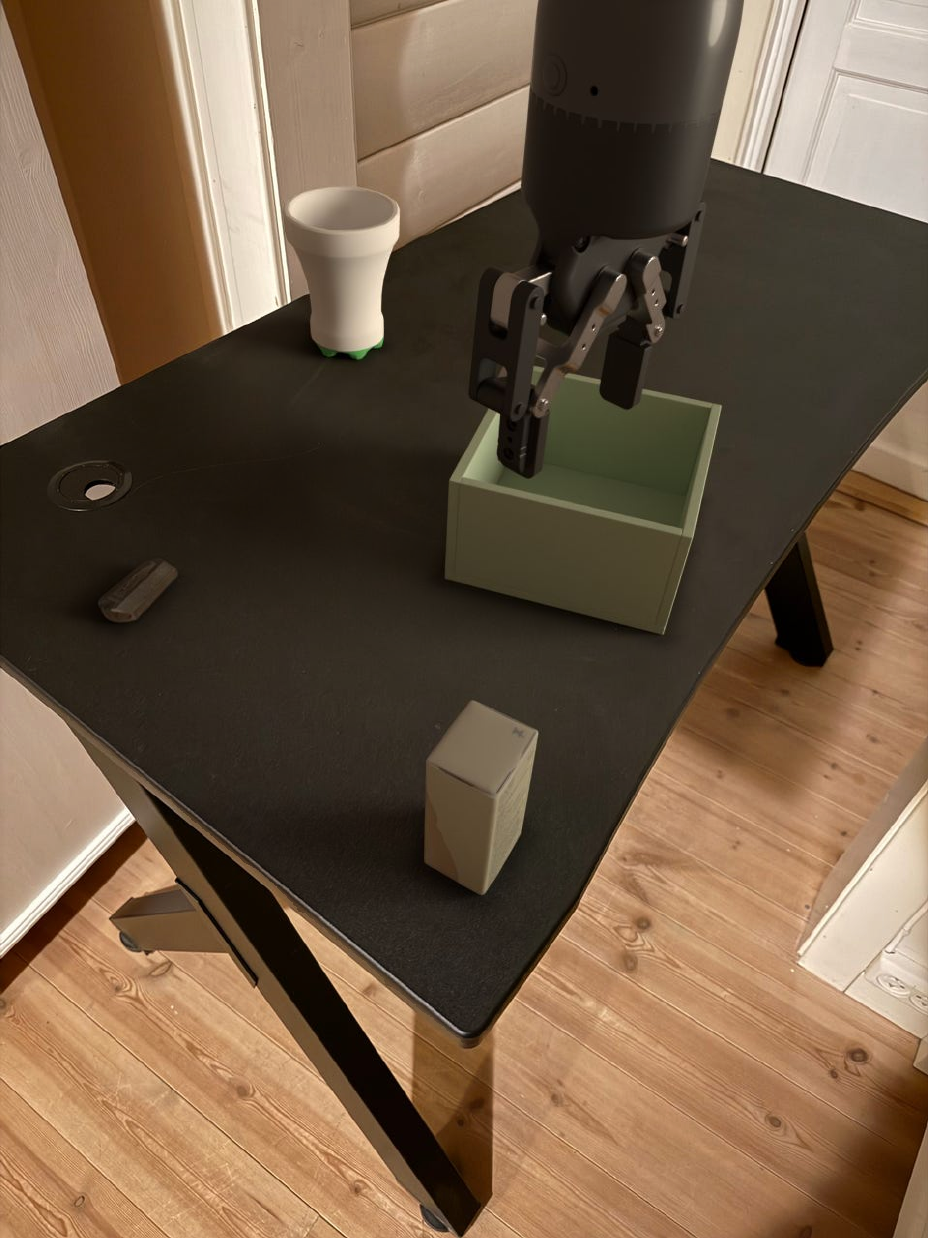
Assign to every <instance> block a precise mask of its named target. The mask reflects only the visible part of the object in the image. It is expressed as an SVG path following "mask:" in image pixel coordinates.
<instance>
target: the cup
mask: <svg viewBox="0 0 928 1238" xmlns="http://www.w3.org/2000/svg"><path fill="white" fill-rule="evenodd" d="M282 216H283V218H282V219H283V227H284V233H285V237H286V240H287V242H288V243H289V244H290V246H291V247H292V248H293V250H294V252H295V254H296V256H297V259H298V261H299V264H300V266H301V269H302V272H303V274H304V277H305V280H306V284H307V288H308V292H309V300H310V305H311V306H310V307H311V314H310V320H309V324H310V335H311V339H312V340H313V341H314V342H315V344H316V345H317V347H318V348H319V350H320V351H321V353H322V355H323V356H326V357H327V358H328V357H333V356H336V355H337V354H338V353H342V354H347V355H348V356H349V357H350V358H351V359H354V360H357V361H359V360H361V359H363V358H364V357H365V356H366V355H367V353H368V352H369V351H370V350H371V349H379V348H381V347H382V346H383V342H384V335H385V333H384V331H385V330H384V329H385V327H384V325H385V324H384V322H385V321H384V316H383V313H382V293H383V292H382V291H383V284H384V278H385V275H386V271H387V266H388V263H389V260H390V257H391V254H392V251H393V248H394V246H395V245H396V244H397V241H398V240H399V238H400V218H401V208H400V206H399V204H398V202H397V201H396V200H394V199H393V198H391V197H390V196H389V195H386V194H385V193H382V192H380V191H377V190H374V189H370V188H367V187H361V186H356V185H327V186H320V187H315V188H309V189H306V190H302V191H298V192H297V193H295V194H294V195H293V196H291V197H289V199H288V200H287V201H286V202H285V203H284V204H283V207H282Z"/></svg>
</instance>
